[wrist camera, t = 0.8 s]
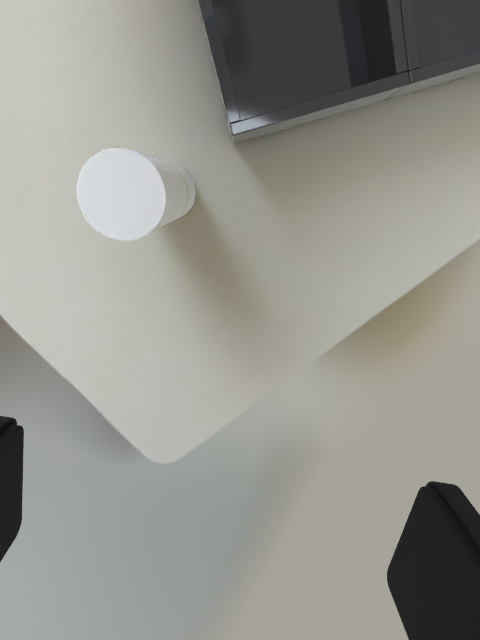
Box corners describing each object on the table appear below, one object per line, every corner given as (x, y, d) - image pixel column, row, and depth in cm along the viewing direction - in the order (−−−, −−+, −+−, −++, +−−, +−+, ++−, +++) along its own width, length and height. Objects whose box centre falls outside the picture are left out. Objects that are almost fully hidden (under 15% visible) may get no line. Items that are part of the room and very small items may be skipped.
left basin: (181, -58, 28) (169, -114, 23) (350, -114, 28) (378, -186, 22) (232, 144, 33) (232, 136, 27) (381, 101, 32) (410, 84, 26)
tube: (188, 159, 33) (151, 137, 19) (201, 212, 34) (176, 230, 20) (137, 171, 33) (63, 159, 19) (152, 224, 34) (93, 249, 20)
